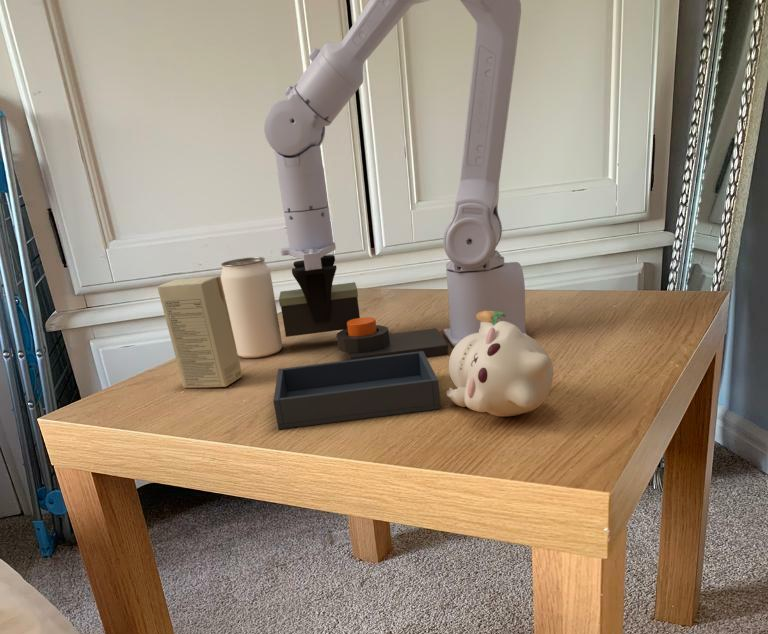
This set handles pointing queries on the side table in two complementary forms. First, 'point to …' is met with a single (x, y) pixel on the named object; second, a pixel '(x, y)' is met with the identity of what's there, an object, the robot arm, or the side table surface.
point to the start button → (361, 326)
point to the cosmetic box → (200, 331)
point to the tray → (355, 390)
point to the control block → (392, 343)
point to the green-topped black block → (300, 317)
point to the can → (251, 307)
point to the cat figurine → (499, 369)
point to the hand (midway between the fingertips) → (321, 317)
